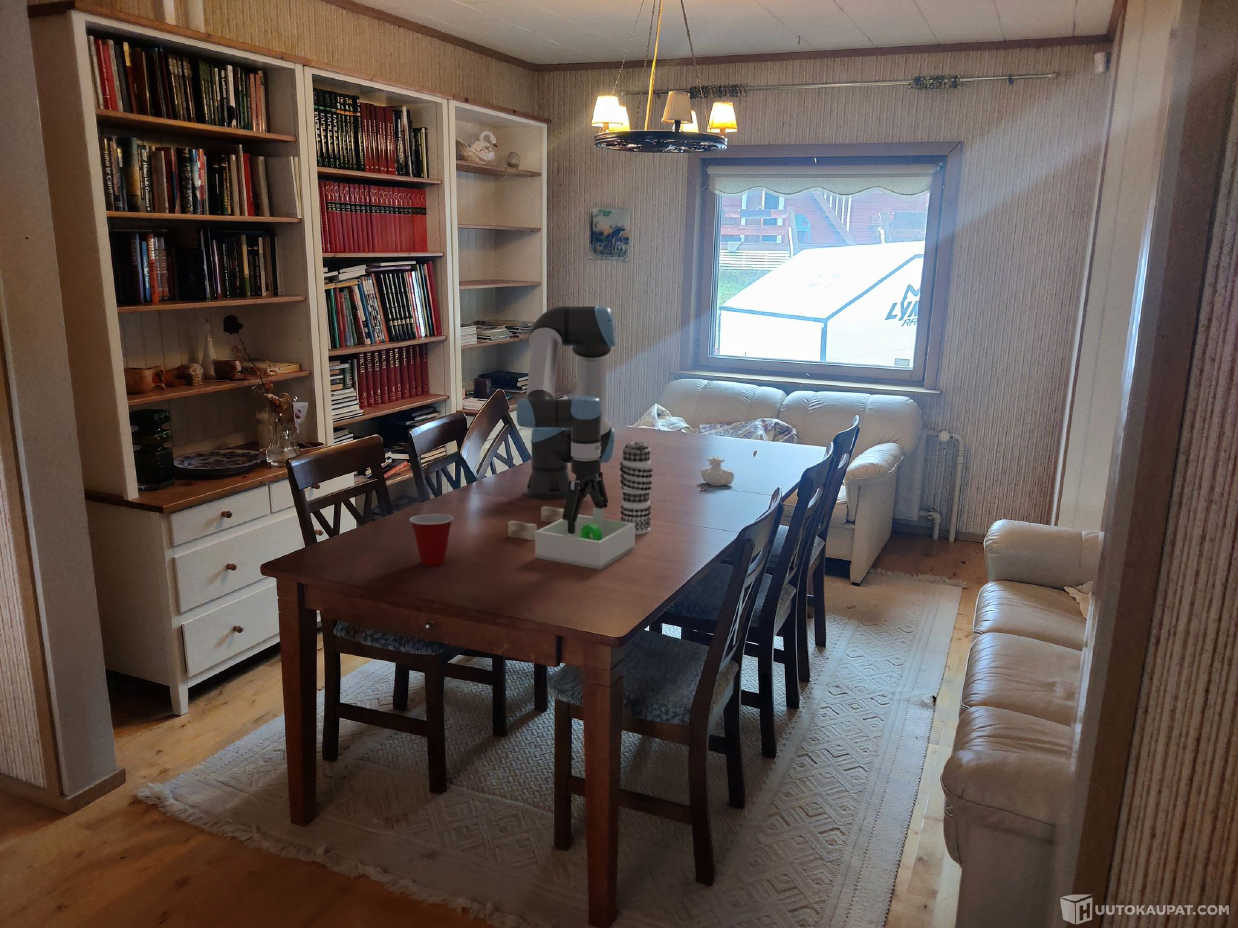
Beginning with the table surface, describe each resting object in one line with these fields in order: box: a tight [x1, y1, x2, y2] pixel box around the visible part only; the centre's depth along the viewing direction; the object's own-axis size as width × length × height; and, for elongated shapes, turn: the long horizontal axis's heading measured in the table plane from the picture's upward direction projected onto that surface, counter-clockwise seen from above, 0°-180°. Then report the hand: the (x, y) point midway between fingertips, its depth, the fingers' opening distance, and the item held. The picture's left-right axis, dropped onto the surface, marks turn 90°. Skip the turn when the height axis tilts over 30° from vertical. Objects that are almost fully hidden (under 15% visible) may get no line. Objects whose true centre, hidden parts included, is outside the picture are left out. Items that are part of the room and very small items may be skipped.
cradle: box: [507, 505, 564, 541], centre depth 255 cm, size 8×19×4 cm, turn 153°
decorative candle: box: [619, 441, 654, 535], centre depth 253 cm, size 9×9×25 cm
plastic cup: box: [409, 513, 454, 567], centre depth 225 cm, size 11×11×12 cm
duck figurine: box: [699, 455, 735, 487], centre depth 306 cm, size 12×8×11 cm
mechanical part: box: [579, 523, 602, 541], centre depth 234 cm, size 12×6×8 cm, turn 49°
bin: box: [534, 514, 636, 571], centre depth 234 cm, size 19×19×7 cm
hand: (585, 538), depth 234 cm, fingers open, 12 cm apart
